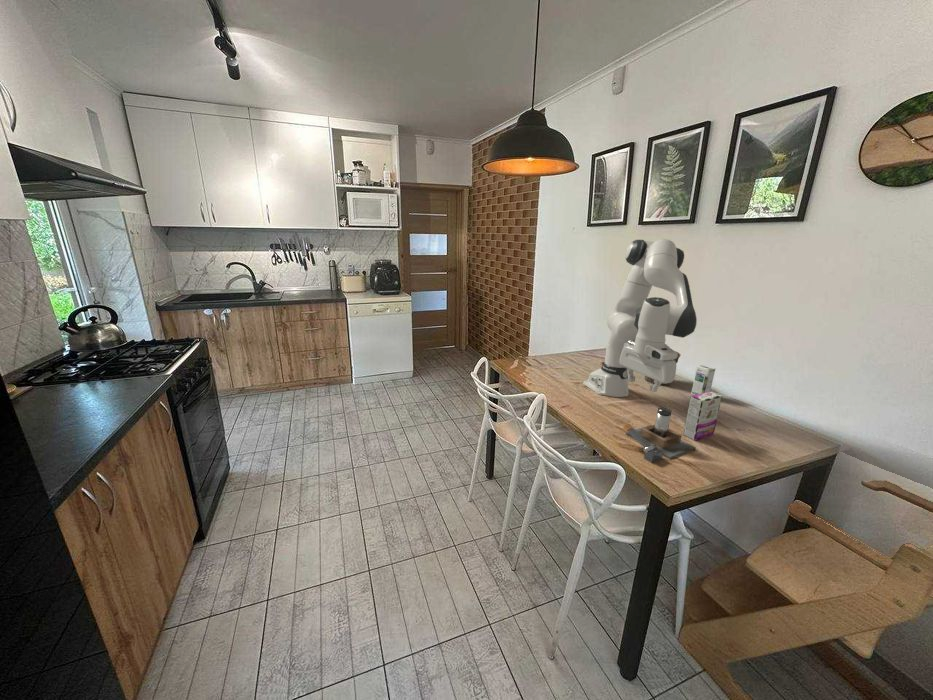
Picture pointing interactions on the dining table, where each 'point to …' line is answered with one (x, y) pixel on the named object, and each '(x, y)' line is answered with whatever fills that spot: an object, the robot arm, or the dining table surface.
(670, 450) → the hitch block
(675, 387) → the dining table surface
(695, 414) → the candy bar box
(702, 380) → the syrup box
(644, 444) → the bar
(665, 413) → the steel pin
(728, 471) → the dining table surface
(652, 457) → the retainer base
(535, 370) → the dining table surface
